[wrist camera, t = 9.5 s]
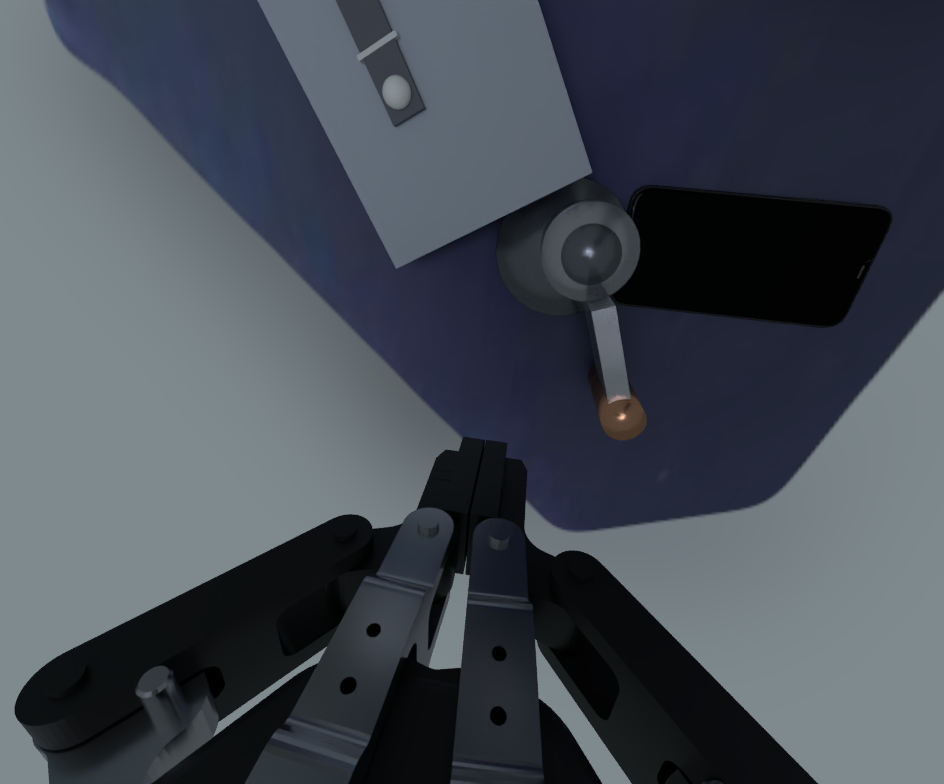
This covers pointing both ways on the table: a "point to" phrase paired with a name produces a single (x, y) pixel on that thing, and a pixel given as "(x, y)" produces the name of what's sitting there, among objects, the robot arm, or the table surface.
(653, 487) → the table surface
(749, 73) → the table surface
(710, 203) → the smartphone
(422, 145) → the slide switch panel
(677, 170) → the table surface
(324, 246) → the table surface
